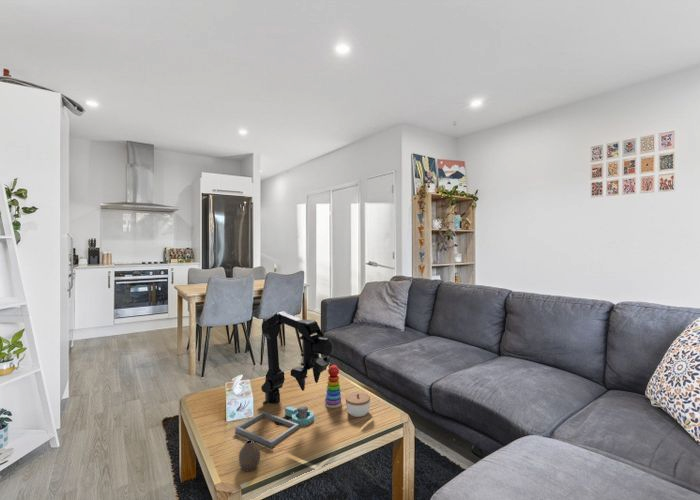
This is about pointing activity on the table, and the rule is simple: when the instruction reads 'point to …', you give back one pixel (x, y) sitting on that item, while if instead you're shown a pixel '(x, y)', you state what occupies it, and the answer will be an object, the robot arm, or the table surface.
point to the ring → (294, 414)
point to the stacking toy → (333, 388)
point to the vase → (249, 456)
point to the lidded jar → (358, 403)
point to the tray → (260, 439)
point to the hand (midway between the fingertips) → (309, 386)
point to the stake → (303, 415)
